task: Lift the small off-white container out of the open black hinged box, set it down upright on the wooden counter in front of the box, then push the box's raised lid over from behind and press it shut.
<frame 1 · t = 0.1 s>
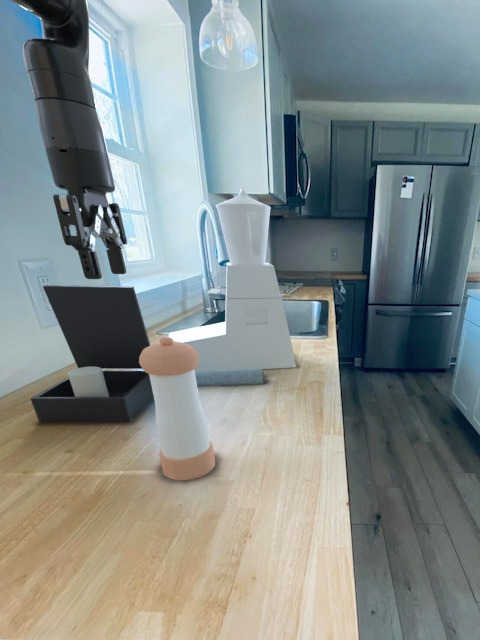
hand: (107, 276, 58), 24 cm above the countertop, tool pointing down, fingers open, 8 cm apart
container: (97, 411, 68), point 1 cm above the countertop, touching black hinged box
salt shaker: (190, 469, 54), on the countertop
lid: (109, 325, 73), point 14 cm above the countertop, hinge at 80.0°
black hinged box: (107, 408, 72), on the countertop
grey folded cloth: (215, 384, 85), on the countertop
blender: (231, 363, 99), on the countertop
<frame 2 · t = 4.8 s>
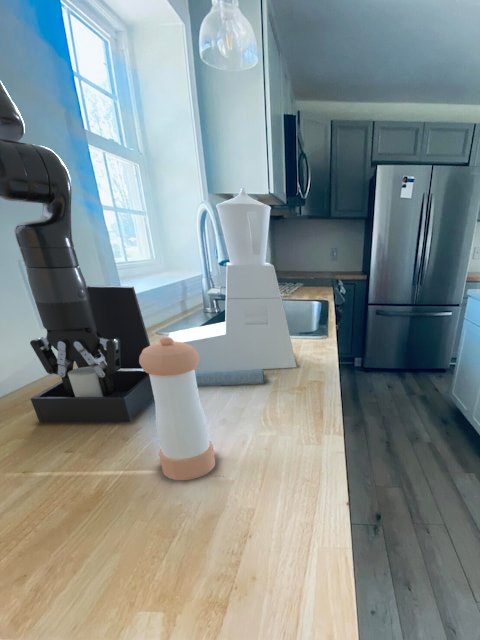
hand: (91, 394, 67), 4 cm above the countertop, tool pointing down, fingers closed on container, 5 cm apart
container: (97, 411, 68), point 1 cm above the countertop, touching black hinged box, gripper
everything else where it was.
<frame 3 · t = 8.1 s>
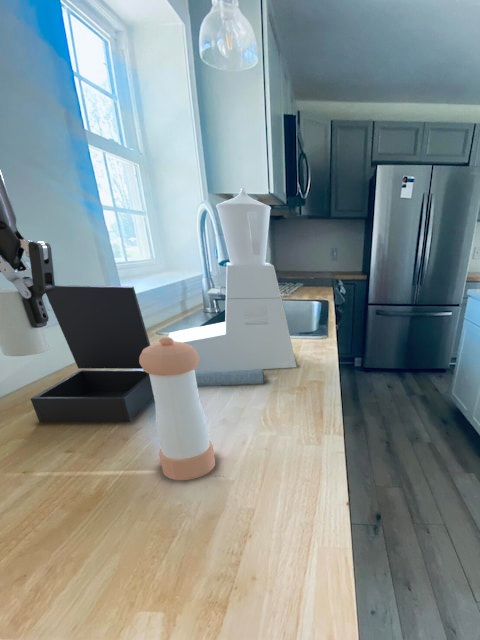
hand: (17, 326, 49), 19 cm above the countertop, tool pointing down, fingers closed on container, 5 cm apart
container: (27, 351, 51), point 16 cm above the countertop, touching gripper
everything else where it was.
when the fingers open (3 cm above the countertop, at t = 11.9 s): container stays where it is, on the countertop.
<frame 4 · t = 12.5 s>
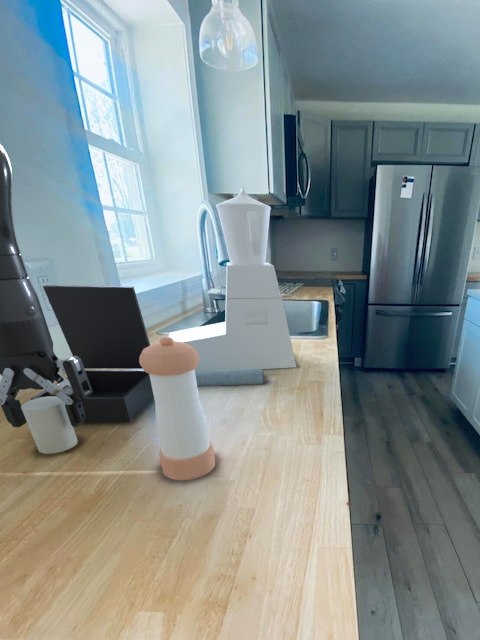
hand: (49, 424, 56), 4 cm above the countertop, tool pointing down, fingers open, 8 cm apart
container: (60, 449, 58), on the countertop
everything else where it was.
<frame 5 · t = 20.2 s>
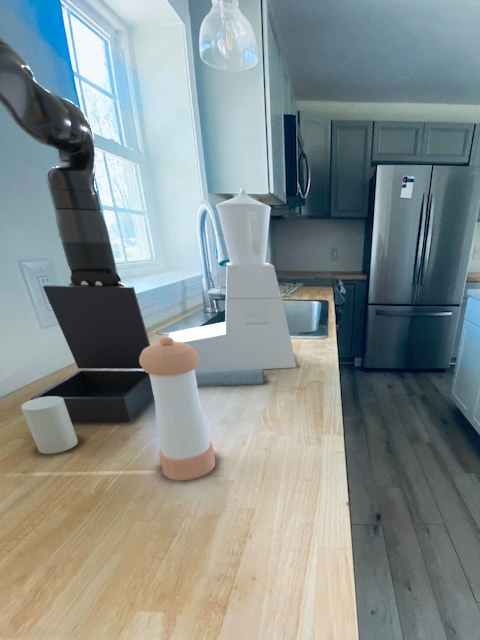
hand: (110, 337, 73), 12 cm above the countertop, tool pointing down, fingers closed
lid: (109, 325, 73), point 14 cm above the countertop, hinge at 79.9°, touching gripper
everything else where it was.
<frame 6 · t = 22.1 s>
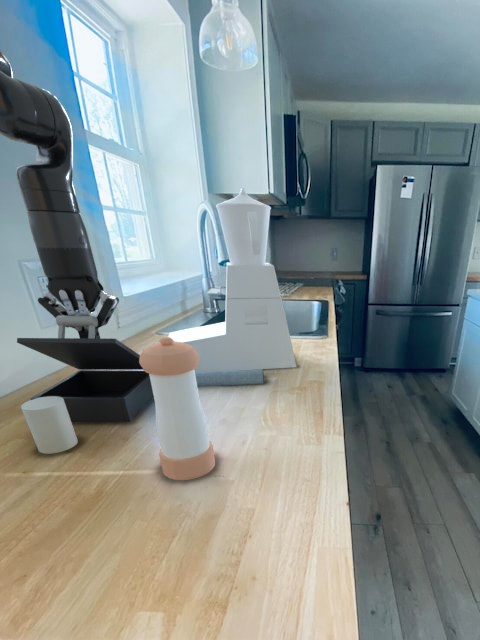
hand: (93, 350, 67), 11 cm above the countertop, tool pointing down, fingers closed
lid: (95, 343, 68), point 12 cm above the countertop, hinge at 33.3°, touching gripper
everything else where it was.
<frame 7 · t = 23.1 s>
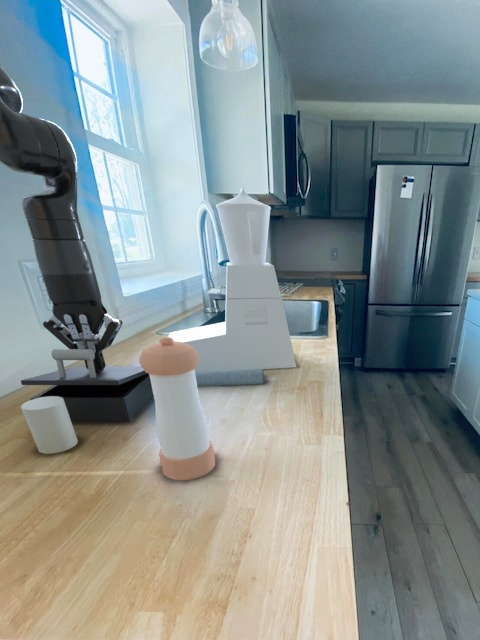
hand: (97, 371, 68), 8 cm above the countertop, tool pointing down, fingers closed
lid: (94, 361, 67), point 9 cm above the countertop, hinge at 9.1°, touching gripper
everything else where it was.
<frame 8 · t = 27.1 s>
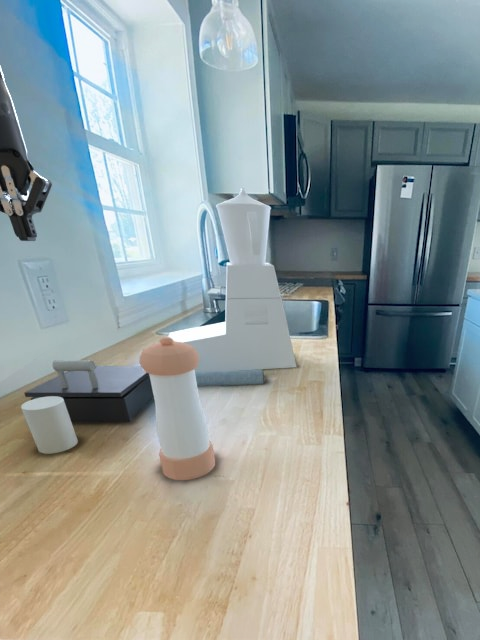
hand: (28, 240, 65), 29 cm above the countertop, tool pointing down, fingers closed
lid: (94, 367, 68), point 8 cm above the countertop, hinge at 1.9°
everything else where it was.
at the end: container inside the target area (0.1 cm from its centre), on the countertop; container tilted 0°; lid at +2° (first picture: +80°) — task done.
